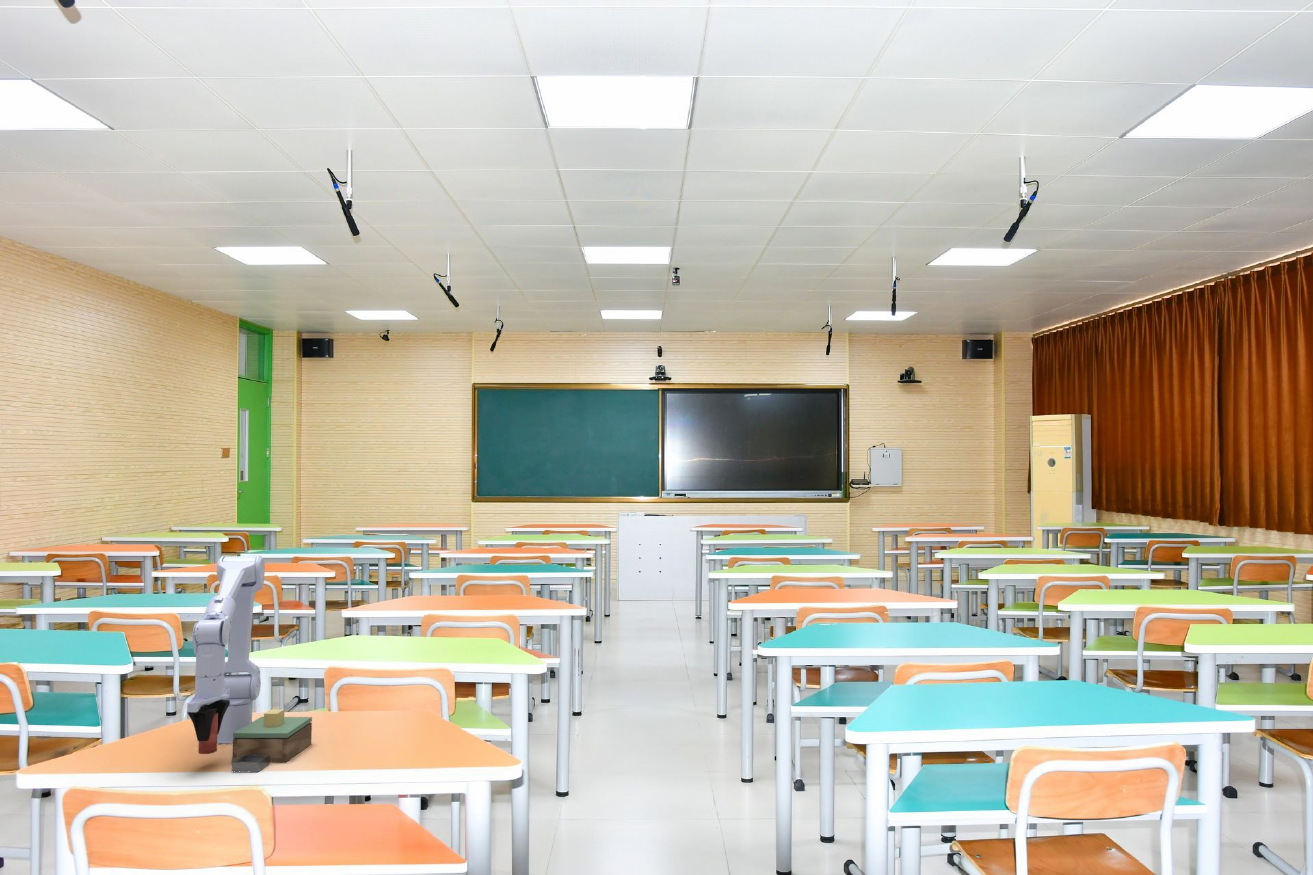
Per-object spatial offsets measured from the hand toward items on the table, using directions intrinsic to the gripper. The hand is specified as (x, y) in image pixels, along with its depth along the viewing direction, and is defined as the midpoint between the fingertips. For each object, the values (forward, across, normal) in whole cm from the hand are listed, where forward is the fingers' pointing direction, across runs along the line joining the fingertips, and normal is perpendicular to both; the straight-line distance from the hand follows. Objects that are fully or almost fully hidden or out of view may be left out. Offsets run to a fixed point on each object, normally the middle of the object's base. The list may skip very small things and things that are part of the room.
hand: (208, 737), depth 192 cm
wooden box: (+6, +10, -10) cm, 15 cm away
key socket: (+6, -1, -10) cm, 12 cm away
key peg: (+3, 0, 0) cm, 3 cm away
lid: (+1, +10, -10) cm, 14 cm away
